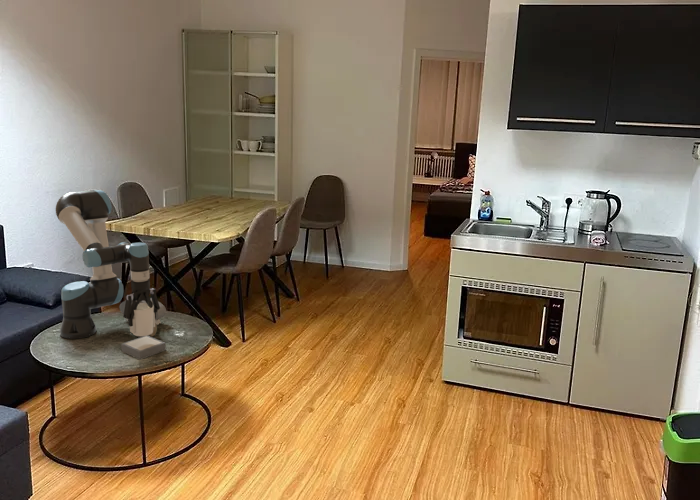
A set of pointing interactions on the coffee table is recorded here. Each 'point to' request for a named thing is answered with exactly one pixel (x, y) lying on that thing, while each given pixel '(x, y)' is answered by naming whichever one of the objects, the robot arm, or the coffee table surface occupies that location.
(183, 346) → the coffee table surface
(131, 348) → the pedestal
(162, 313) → the alarm clock
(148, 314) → the candle holder
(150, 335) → the ceramic mug
